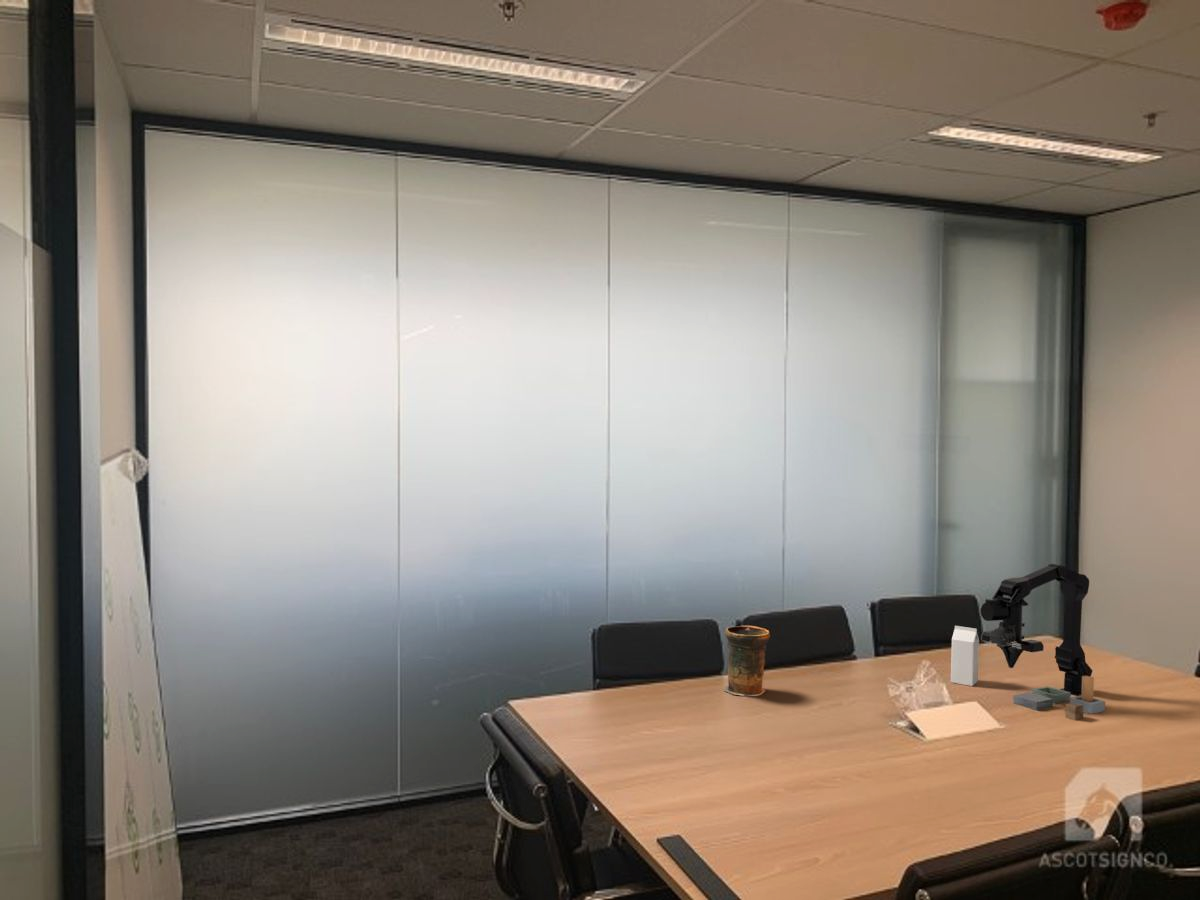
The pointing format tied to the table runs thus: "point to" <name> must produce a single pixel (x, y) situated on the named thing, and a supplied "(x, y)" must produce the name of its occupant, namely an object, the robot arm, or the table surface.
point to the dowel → (1087, 688)
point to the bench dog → (1074, 711)
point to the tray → (1053, 694)
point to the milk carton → (964, 656)
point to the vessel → (746, 659)
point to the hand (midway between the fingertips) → (1011, 667)
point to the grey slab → (1033, 701)
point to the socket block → (1089, 704)
